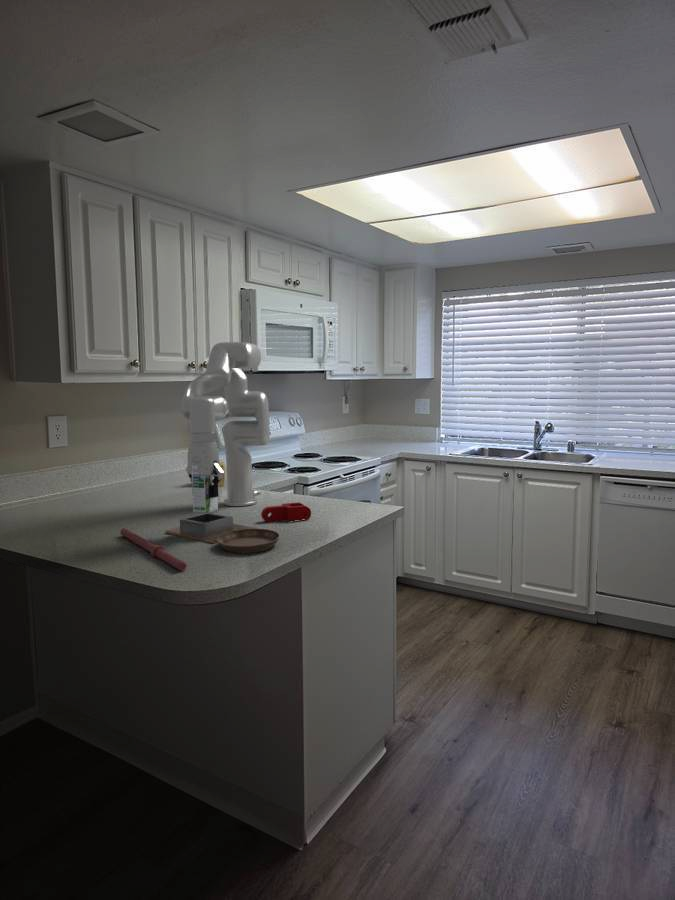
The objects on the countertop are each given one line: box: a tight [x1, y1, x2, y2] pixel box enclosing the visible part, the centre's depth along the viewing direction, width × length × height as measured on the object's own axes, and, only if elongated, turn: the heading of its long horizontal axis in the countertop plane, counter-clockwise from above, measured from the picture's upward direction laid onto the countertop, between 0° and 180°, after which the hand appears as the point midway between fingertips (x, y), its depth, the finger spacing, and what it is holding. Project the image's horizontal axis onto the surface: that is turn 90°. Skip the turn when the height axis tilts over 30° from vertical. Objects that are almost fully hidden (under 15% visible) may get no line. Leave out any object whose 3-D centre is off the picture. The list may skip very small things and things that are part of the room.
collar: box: [165, 512, 259, 544], centre depth 193 cm, size 18×22×5 cm
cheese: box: [218, 461, 226, 487], centre depth 278 cm, size 10×11×10 cm
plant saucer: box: [217, 528, 281, 554], centre depth 177 cm, size 18×18×3 cm
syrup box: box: [191, 465, 219, 514], centre depth 190 cm, size 6×6×14 cm
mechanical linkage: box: [260, 501, 312, 523], centre depth 208 cm, size 16×7×5 cm, turn 113°
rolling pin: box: [119, 527, 187, 571], centre depth 172 cm, size 45×3×3 cm, turn 37°
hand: (205, 495), depth 190 cm, fingers closed on syrup box, 6 cm apart
